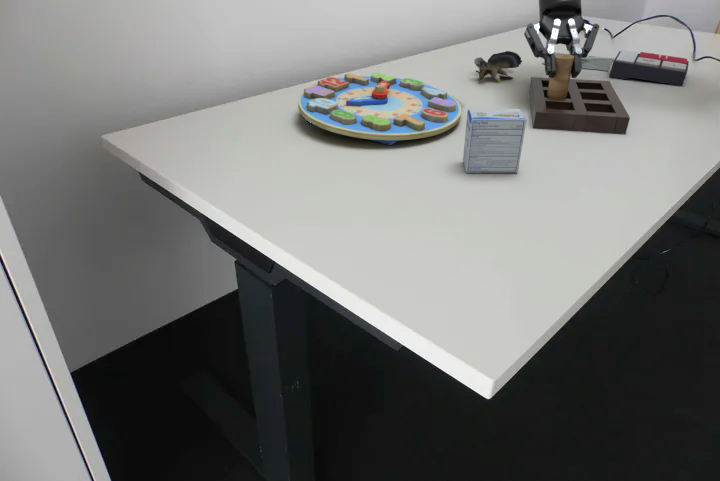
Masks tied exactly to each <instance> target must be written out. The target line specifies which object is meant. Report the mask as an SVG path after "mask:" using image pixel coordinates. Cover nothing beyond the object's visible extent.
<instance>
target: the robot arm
mask: <svg viewBox="0 0 720 481" xmlns="http://www.w3.org/2000/svg"><path fill="white" fill-rule="evenodd" d="M582 8H583V7H582V0H538V12H539V21H538V23H536V24H533V23H528V24H527V25H526V28H525V31H524V33H523V35H524V37H525V39H526V41H527V43H528V46H529V48H530V50H531V52H532V54H533V56H534V58H536V59H539V58H541V59H544V61H545V64H544V73H545V75H546V76H548V78H553V77H554V75H555V73H556V63H555V55H553V53H555V49H556V45H565V47H566V51H567V52H568V54H570V55H572V56H574V61H573V66H572V71H571V76H570V79H577V78H578V76H580V73H581V72H582V70H583V68H582V61H581V58H586V57H587V56H589V53H590V52H591V51H592V49H593V47H594V44H595V41H596V38H597V35H598V33H599V30H600V24H599V23H593V24H588V23H586V22H585V19H584V17H583V15H582V13H583V10H582ZM581 32H583V37H584V38H585V41H584V44H583V46H581V38H580V33H581ZM539 34H541V35H542V36H543V37H544V38H545V40H546V43H545V46H544V44H543V42H542V40H541V38H540V36H539Z"/></svg>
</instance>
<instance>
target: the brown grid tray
mask: <svg viewBox="0 0 720 481" xmlns="http://www.w3.org/2000/svg"><path fill="white" fill-rule="evenodd" d="M549 81H550V78H549V77H536V76H531V77H530V81H529V86H528V93H529V94H528V96H529V104H530V112H531V122H532V129H544V130H559V131H576V132H588V133H589V132H591V133H593V132H594V133H606V134H608V133H609V134H620V135H621V134H622V135H626V134H627V130H628V127H629V123H630V120H631V117H630V115H629V112H627V109H626V108H625V106H624V104H623V103H622V100H621V98H620V97H619V95H618V94H617V92H616V90H615V88H614V86H613V85H612V83H611V81H610V80H598V79H578V78H570V81H569V87H568V92H567V97H566V98H550V97H548V96H547V92H548V86H549Z"/></svg>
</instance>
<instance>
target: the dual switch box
mask: <svg viewBox="0 0 720 481" xmlns="http://www.w3.org/2000/svg"><path fill="white" fill-rule="evenodd" d="M689 63H690V62H689V60H688V58H684V57H678V56H671V55H665V54H657V53H651V52H645V51H641V52H640V53H639V52H638V51H632V50H626V49H622V50H620V51H618V53H617V55H616V56H615V57H614V60H613V62H612V64H611V67H610V72H609V74H608V75H609V76H608V77H609V78H616V79H620V80H628V79H637V80H644V81H650V82H655V83H660V84H661V83H662V84H666V85H673V86H679V87H681V86H683V84H684V82H685V79H686V76H687V74H688V70H689Z"/></svg>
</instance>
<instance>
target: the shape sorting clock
mask: <svg viewBox="0 0 720 481" xmlns="http://www.w3.org/2000/svg"><path fill="white" fill-rule="evenodd" d="M297 109H298V111H299V113H300V114H301V116H302V117H303V118H304V119H305V120H306V122H307V121H308V122H311V123H312V124H311V123H310V124H311V125H314V126H316V127H318V128H321V129H323V130H325V131H327V132H331V133H334V134H338V135H342V136H347V137H351V138H356V139H365V140H370V141H373V142H377V143H380V144H384V145H389V146H392V145H394V144H396V143H398V142H400V141H408V140H417V139H418V140H419V139H424V138H425V139H426V138H430V137H434V136H438V135H440V134H443V133H445V132H448V131H449V130H451V129H453V128H454V127H455V126H457V124H458V123H459V122H460V120H461V117H462V112H463V109H462V105H461V103H460V102H459V101H458V99H457V98H455V97H454V96H453V95H452V94H450V93H448V92H447V91H445V90H443V89H441V88H439V87H436V86H434V85H431V84H427V83H424V82H423V81H421V80H417V79H414V78H411V77H410V78H409V77H405V78H404V77H395V76H391V75H389V76H387V75H386V74H385V73H380V72H373V73H372V74H370V75H357V74H354V73H351V72H347V73H345V74H344V76H340V77H333V76H329V77H328V76H327V77H324V78H321V79H318V80H317V82H316V83H314V84H311V85H310V86H308V87H306V88H304V89H303V91H302V92H301V93H300V94H299V95H298V98H297ZM308 122H307V123H308Z"/></svg>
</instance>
